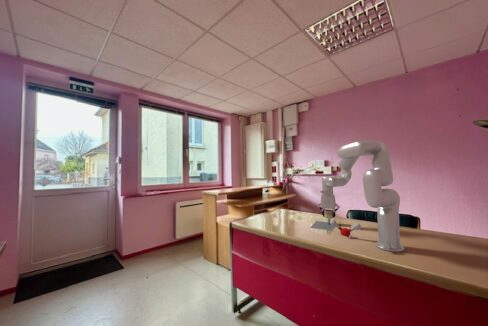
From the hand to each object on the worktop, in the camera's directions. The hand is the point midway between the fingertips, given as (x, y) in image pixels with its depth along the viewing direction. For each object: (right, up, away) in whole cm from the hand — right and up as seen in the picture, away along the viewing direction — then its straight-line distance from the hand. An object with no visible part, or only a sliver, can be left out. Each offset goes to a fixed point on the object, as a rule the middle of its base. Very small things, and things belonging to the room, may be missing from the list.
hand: (328, 216), depth 151 cm
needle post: (0, -6, 0) cm, 6 cm away
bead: (0, 0, 0) cm, 0 cm away
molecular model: (0, -7, -24) cm, 25 cm away
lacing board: (-5, -7, -3) cm, 9 cm away
